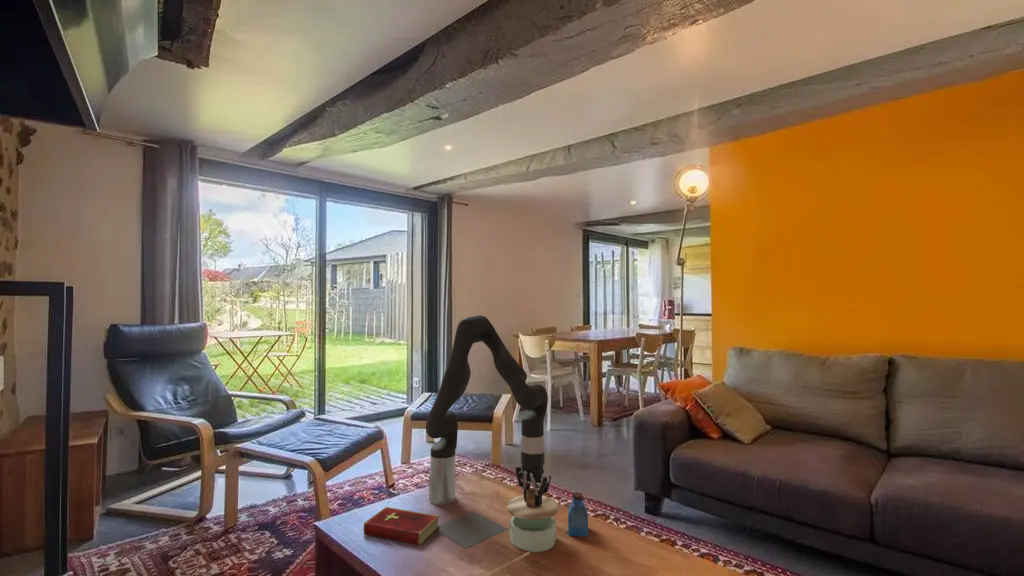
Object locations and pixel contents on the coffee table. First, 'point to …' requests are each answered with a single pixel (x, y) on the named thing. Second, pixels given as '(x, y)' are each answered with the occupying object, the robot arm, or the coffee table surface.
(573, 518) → the perfume bottle
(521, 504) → the lid
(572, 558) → the coffee table surface
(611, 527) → the coffee table surface
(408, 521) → the hardcover book
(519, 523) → the bowl
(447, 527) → the mat
